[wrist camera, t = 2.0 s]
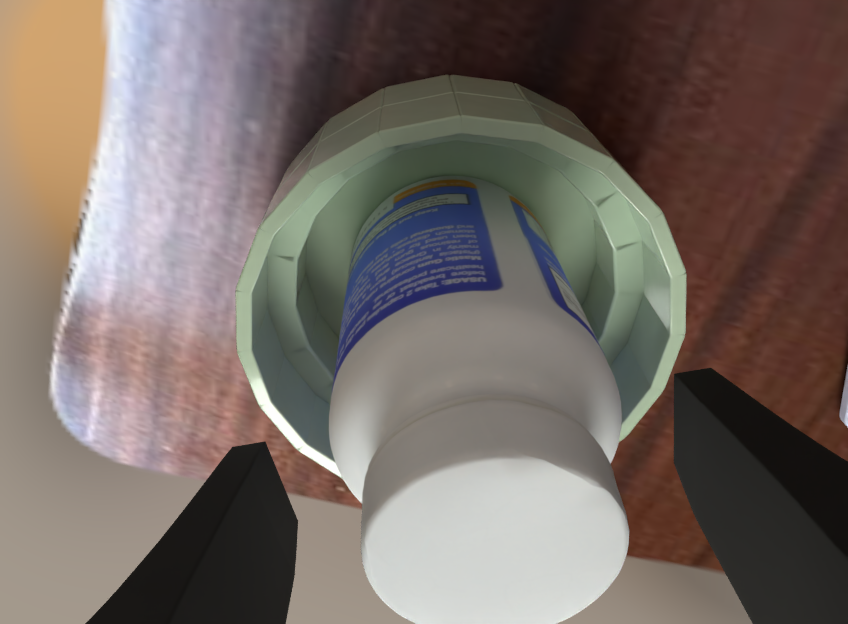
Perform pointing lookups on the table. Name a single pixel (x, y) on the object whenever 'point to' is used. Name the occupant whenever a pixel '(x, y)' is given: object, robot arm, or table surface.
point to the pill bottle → (474, 414)
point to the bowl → (453, 156)
